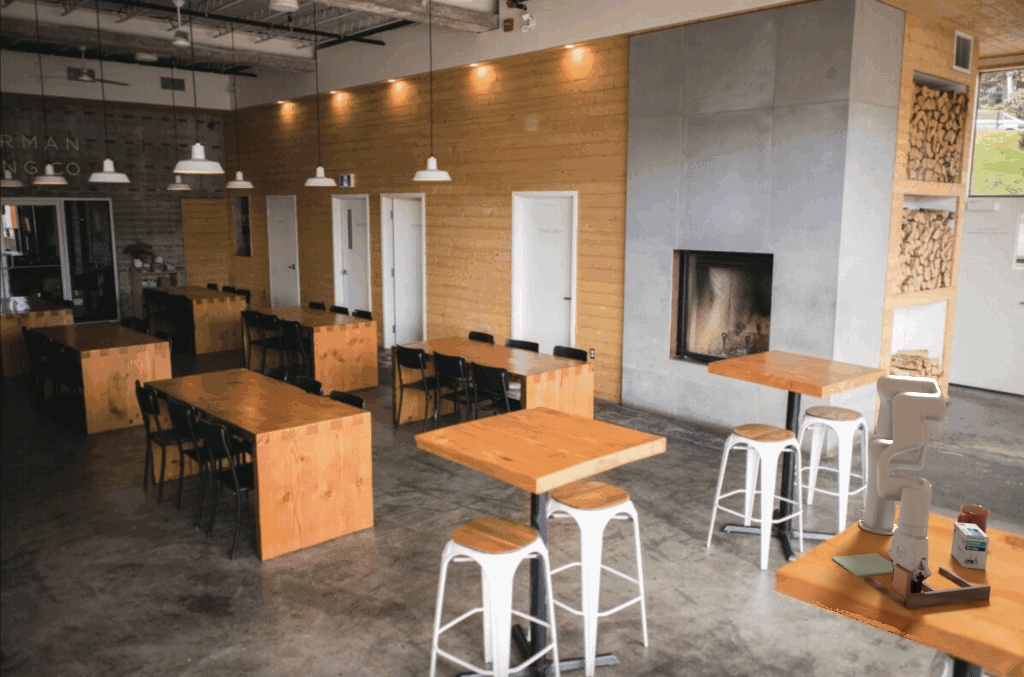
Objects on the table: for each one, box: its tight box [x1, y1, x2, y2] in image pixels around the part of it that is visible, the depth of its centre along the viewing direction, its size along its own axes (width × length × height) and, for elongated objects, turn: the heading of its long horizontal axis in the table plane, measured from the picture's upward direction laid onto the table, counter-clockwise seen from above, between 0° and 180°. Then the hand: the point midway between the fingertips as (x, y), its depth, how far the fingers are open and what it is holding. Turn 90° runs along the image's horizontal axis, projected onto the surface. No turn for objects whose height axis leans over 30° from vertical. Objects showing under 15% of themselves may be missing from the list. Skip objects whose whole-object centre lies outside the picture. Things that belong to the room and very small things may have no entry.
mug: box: [956, 504, 992, 535], centre depth 254 cm, size 12×9×10 cm
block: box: [891, 565, 919, 597], centre depth 218 cm, size 5×5×7 cm
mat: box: [831, 552, 893, 578], centre depth 234 cm, size 12×16×1 cm
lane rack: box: [864, 566, 992, 611], centre depth 219 cm, size 18×27×4 cm, turn 103°
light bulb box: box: [950, 521, 990, 570], centre depth 237 cm, size 11×7×11 cm, turn 168°
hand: (906, 586), depth 218 cm, fingers open, 6 cm apart
